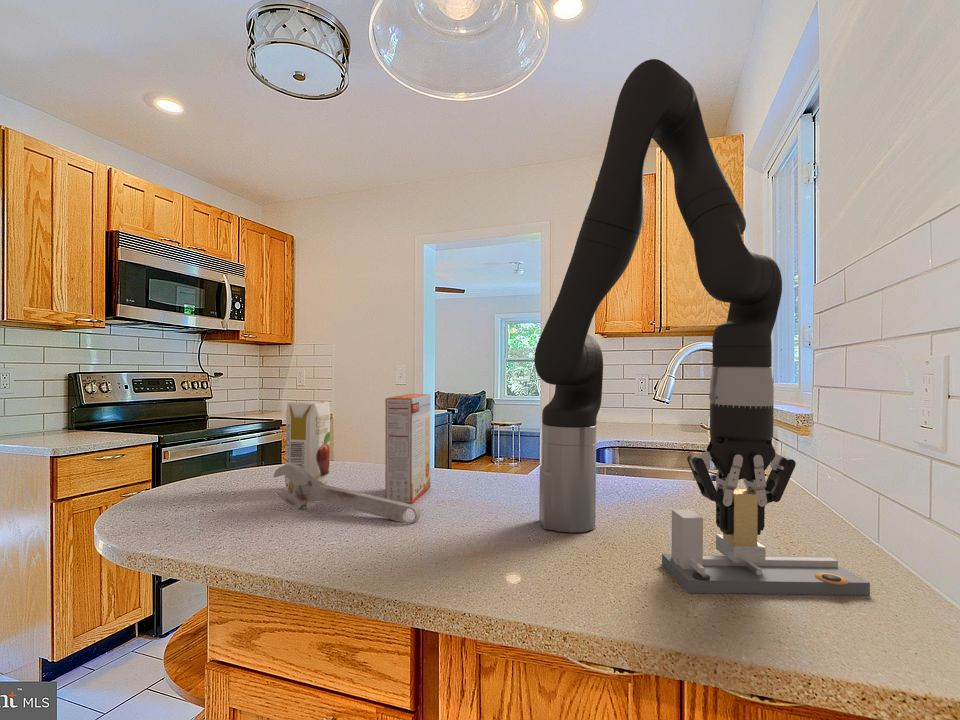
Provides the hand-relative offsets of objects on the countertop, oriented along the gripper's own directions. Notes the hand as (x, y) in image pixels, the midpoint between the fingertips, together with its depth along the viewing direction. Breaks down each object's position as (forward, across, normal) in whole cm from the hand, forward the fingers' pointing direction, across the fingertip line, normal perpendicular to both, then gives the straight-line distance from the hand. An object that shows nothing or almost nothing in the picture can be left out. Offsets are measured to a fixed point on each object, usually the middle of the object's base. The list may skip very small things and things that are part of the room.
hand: (740, 532), depth 68 cm
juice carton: (+6, -71, +43) cm, 83 cm away
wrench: (+6, -59, +26) cm, 65 cm away
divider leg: (+4, 0, -1) cm, 4 cm away
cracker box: (+6, -49, +40) cm, 64 cm away
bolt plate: (+6, +2, -1) cm, 6 cm away
